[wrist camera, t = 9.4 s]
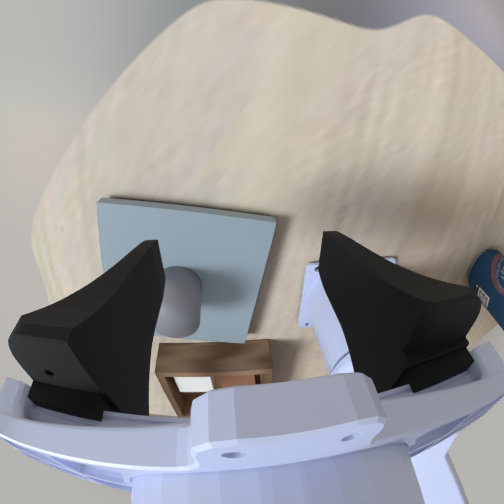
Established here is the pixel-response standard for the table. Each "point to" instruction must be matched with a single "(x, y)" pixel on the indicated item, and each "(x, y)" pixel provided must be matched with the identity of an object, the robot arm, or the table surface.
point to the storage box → (209, 366)
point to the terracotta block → (238, 380)
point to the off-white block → (194, 384)
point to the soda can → (489, 282)
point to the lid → (194, 262)
